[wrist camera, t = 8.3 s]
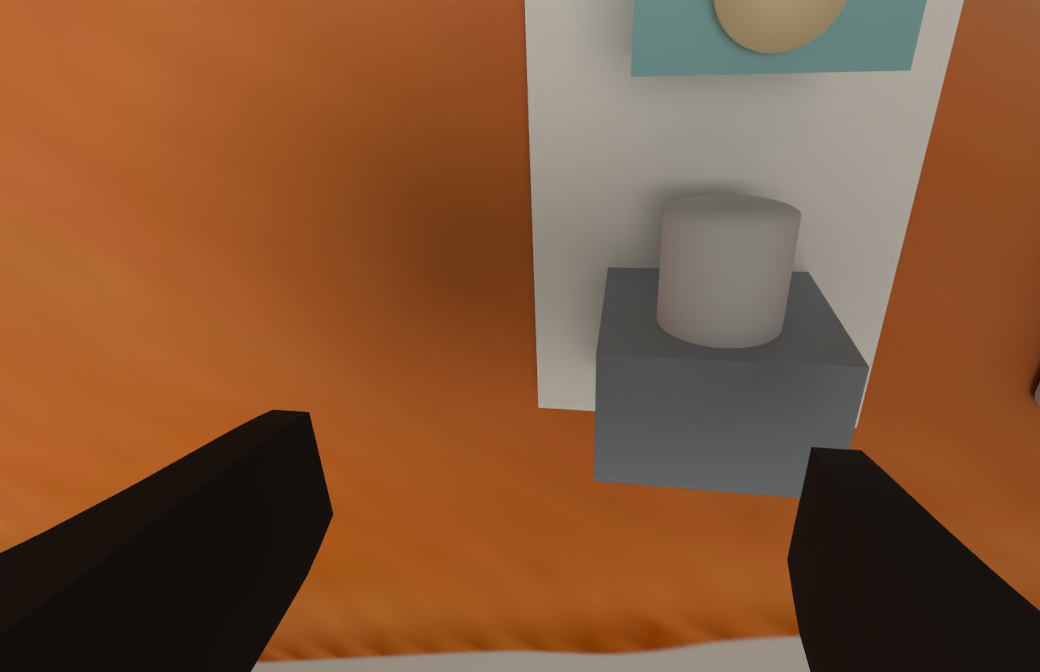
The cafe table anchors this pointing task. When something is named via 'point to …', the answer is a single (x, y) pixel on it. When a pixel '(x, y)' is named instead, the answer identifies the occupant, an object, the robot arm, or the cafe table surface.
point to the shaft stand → (715, 246)
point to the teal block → (773, 36)
